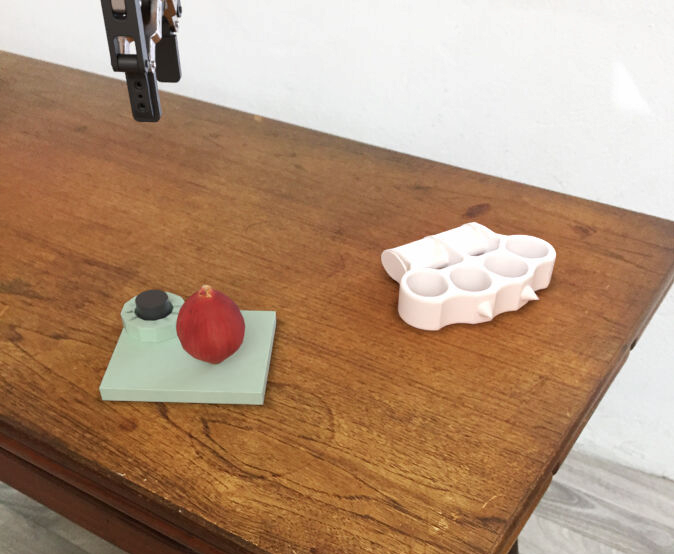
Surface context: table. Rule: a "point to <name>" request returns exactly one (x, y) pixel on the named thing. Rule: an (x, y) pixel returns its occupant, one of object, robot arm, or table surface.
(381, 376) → the table surface
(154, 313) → the button
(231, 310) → the onion
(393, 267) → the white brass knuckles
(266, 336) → the scale
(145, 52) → the robot arm
